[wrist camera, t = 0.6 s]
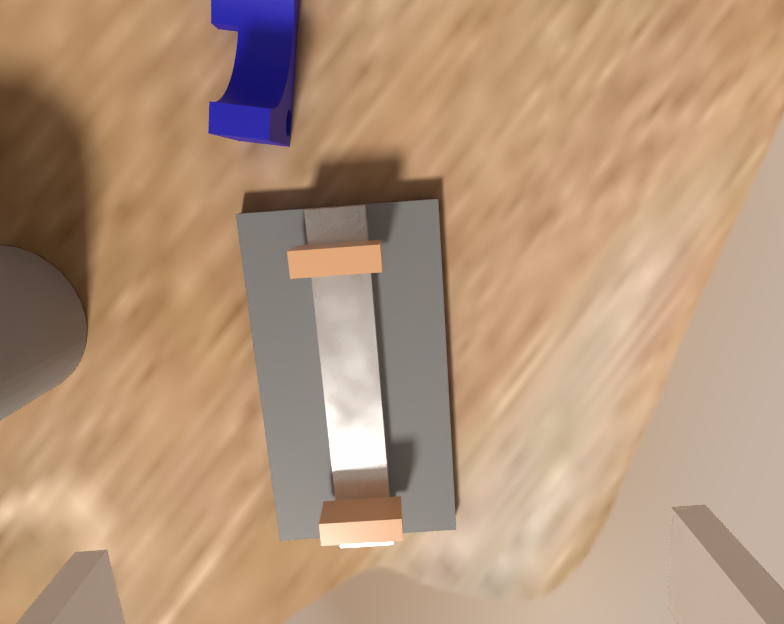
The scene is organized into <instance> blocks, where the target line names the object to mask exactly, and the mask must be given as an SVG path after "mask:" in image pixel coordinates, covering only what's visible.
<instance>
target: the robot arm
mask: <svg viewBox="0 0 784 624" xmlns="http://www.w3.org/2000/svg"><path fill="white" fill-rule="evenodd" d="M668 609H669V611H670V613H671V614H672V616H673V617H674V619H675V621H676V622H677V624H784V590H783V589H782V587H781V586H780V585H779V584H778V583H777V582H776V581H775V580H774V579H773V578H772V577H771V576H770V574H769V573H768V572H767V571H766V570H765V569H764V568H763V567H762V566H761V565H760V564H759V563H758V561H757V560H755V558H754V557H753V556H752V555H751V554H750V553H749V552H748V551H747V550H746V548H745V547H744V546H743V545H742V544H741V543H740V542H739V541H738V540H737V539H736V538H735V537H734V536H733V535H732V533H731V532H730V531H729V530H728V529H727V528H726V527H725V526H724V525H723V523H722V522H721V521H720V520H719V519H718V518H717V517H716V516H715V515H714V514H713V513H712V512H711V511H710V510H709V508H708V507H707V506H706V505H694V506H680V507H672V508H671V529H670V557H669V585H668ZM16 624H125V620H124V616H123V612H122V608H121V604H120V600H119V596H118V592H117V588H116V584H115V580H114V576H113V572H112V567H111V563H110V559H109V555H108V551H107V550H99V551H86V552H75V553H74V554H73V555H72V557H71V558H70V559H69V560H68V561H67V563H66V564H65V565H64V566H63V568H62V569H61V570H60V571H59V572H58V574H57V575H56V576H55V577H54V578H53V580H52V581H51V582H50V583H49V584H48V586H47V587H46V588H45V589H44V590H43V592H42V593H41V594H40V595H39V596H38V598H37V599H36V600H35V601H34V603H33V604H32V605H31V606H30V607H29V609H28V610H27V611H26V612H25V613H24V615H23V616H22V617H21V618H20V619H19V621H18V622H17V623H16Z"/></svg>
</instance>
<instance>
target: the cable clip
mask: <svg viewBox="0 0 784 624" xmlns="http://www.w3.org/2000/svg"><path fill="white" fill-rule="evenodd" d="M298 15H299V0H211V23H212V24H213V25H214V26H215V27H217V28H218V29H222V30H230V31H238V42H237V51H236V58H235V63H234V68H233V73H232V76H231V80H230V82H229V85H228V88H227V90H226V92H225V94H224V95H223V96H222V98H221V99H220V100H218V101H216V102H210V105H209V132H208V133H210V134H214V135H218V136H222V137H226V138H230V139H234V140H238V141H245V142H254V143H262V144H271V145H279V146H288V147H290V133H291V118H292V103H293V89H294V74H295V59H296V45H297V30H298Z"/></svg>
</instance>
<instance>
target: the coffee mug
mask: <svg viewBox="0 0 784 624" xmlns="http://www.w3.org/2000/svg"><path fill="white" fill-rule="evenodd" d="M86 339H87V323H86V316H85V313H84V310H83V307H82V304H81V301H80V299H79V297H78V295H77V293H76V291H75V290H74V288H73V286H72V285H71V283H70V282H69V281H68V280H67V279H66V278H65V276H64V275H63V274H62V273H61V272H60V271H59V270H58V269H57V268H55V267H54V266H53V265H52V264H50V263H49V262H48V261H46V260H45V259H43V258H41V257H40V256H38V255H36V254H33V253H31V252H29V251H27V250H24V249H21V248H17V247H12V246H6V245H0V420H2V419H4V418H5V417H7V416H9V415H10V414H12V413H13V412H15V411H17V410H18V409H20V408H22V407H23V406H25V405H26V404H28V403H30V402H31V401H33V400H35V399H36V398H38V397H39V396H41V395H43V394H44V393H46V392H48V391H49V390H51V389H52V388H54V387H56V386H57V385H59V384H60V383H62V382H63V381H64V380H65V379H67V378H68V377H69V376H70V375H71V373H72V372H73V371H74V370H75V369H76V367H77V366H78V364H79V362H80V360H81V358H82V356H83V353H84V349H85V346H86Z"/></svg>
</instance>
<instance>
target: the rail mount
mask: <svg viewBox="0 0 784 624" xmlns="http://www.w3.org/2000/svg"><path fill="white" fill-rule="evenodd" d="M236 220H237V227H238V234H239V242H240V249H241V257H242V264H243V271H244V279H245V286H246V293H247V301H248V308H249V316H250V323H251V330H252V338H253V345H254V353H255V360H256V367H257V375H258V382H259V390H260V397H261V404H262V412H263V419H264V426H265V434H266V441H267V449H268V456H269V463H270V471H271V478H272V486H273V493H274V500H275V508H276V515H277V522H278V530H279V537H280V541H283V540H299V539H315V538H320V539H321V546H330V545H340V548H348V547H364V546H380V545H393V542H394V541H403V533H410V532H426V531H442V530H456V517H455V498H454V480H453V462H452V443H451V425H450V406H449V388H448V370H447V351H446V333H445V314H444V296H443V277H442V259H441V241H440V222H439V204H438V199H437V198H434V199H421V200H408V201H394V202H381V203H368V204H354V205H341V206H328V207H315V208H301V209H288V210H275V211H261V212H248V213H239V214H236Z"/></svg>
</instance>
